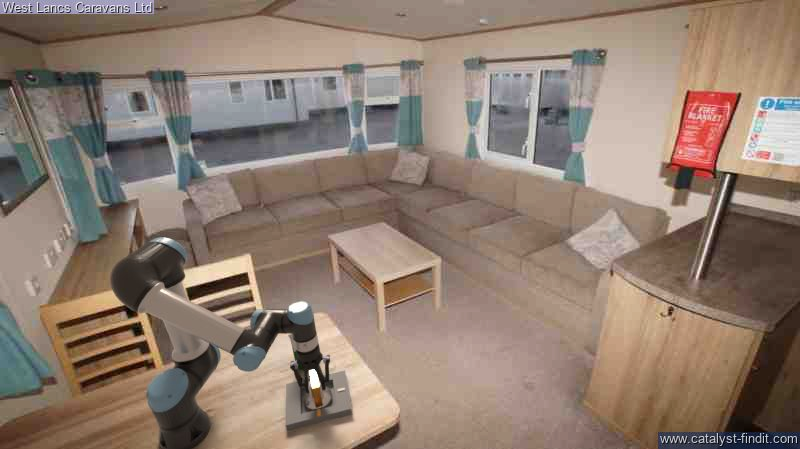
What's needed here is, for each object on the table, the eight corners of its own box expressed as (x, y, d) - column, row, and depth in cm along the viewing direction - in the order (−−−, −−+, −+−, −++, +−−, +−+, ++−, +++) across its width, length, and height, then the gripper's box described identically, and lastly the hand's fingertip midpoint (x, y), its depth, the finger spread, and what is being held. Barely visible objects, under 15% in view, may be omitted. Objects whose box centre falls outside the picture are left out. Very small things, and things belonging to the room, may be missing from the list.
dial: (302, 393, 140) (298, 371, 135) (329, 385, 142) (326, 363, 138) (305, 415, 131) (300, 393, 127) (334, 406, 134) (330, 384, 129)
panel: (286, 430, 127) (285, 424, 125) (287, 388, 143) (286, 383, 141) (352, 413, 131) (351, 407, 130) (345, 375, 147) (344, 369, 146)
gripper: (280, 357, 119) (293, 410, 129) (331, 349, 121) (340, 401, 131) (283, 341, 126) (295, 392, 136) (331, 333, 128) (340, 384, 138)
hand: (317, 396), depth 134 cm, fingers open, 3 cm apart
